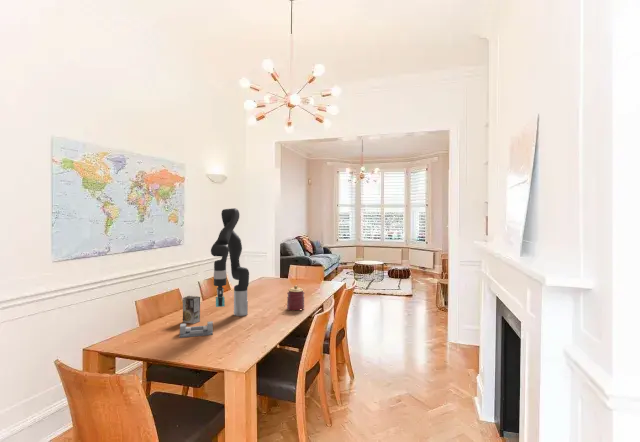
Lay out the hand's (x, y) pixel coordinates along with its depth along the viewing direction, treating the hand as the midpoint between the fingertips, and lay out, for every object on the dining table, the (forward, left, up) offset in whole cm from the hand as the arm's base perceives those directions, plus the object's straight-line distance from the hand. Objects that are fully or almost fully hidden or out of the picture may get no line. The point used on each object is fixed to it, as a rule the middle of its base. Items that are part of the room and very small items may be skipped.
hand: (220, 304), depth 208 cm
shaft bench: (+13, +4, -15) cm, 20 cm away
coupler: (0, 0, -1) cm, 0 cm away
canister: (-56, -31, -15) cm, 65 cm away
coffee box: (+17, -19, -15) cm, 30 cm away
